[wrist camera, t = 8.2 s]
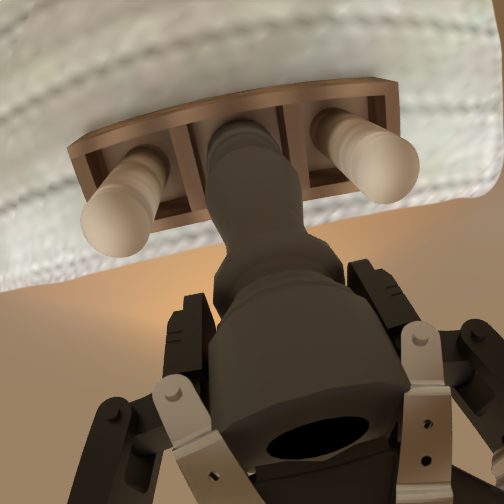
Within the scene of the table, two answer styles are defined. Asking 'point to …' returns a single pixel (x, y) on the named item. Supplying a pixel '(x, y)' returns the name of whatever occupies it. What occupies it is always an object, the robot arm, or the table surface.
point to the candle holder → (287, 319)
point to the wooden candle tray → (195, 155)
